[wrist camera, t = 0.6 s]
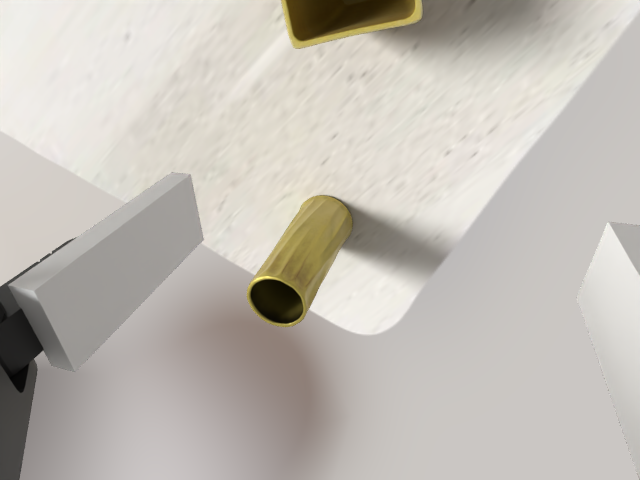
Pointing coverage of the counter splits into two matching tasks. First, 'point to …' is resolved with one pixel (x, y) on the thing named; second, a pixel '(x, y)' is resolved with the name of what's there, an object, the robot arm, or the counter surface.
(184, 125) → the counter surface
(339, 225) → the vase
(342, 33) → the flower pot
